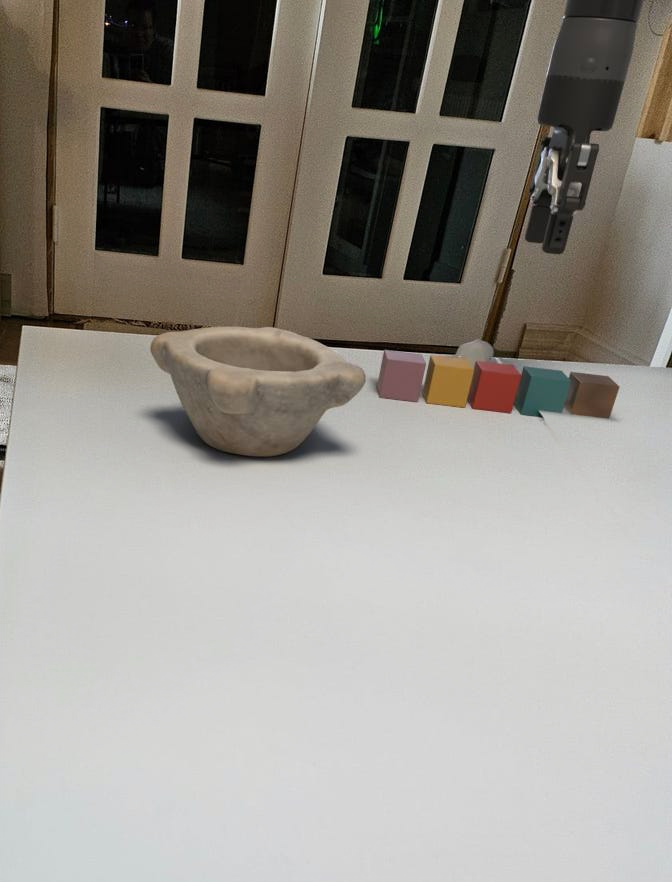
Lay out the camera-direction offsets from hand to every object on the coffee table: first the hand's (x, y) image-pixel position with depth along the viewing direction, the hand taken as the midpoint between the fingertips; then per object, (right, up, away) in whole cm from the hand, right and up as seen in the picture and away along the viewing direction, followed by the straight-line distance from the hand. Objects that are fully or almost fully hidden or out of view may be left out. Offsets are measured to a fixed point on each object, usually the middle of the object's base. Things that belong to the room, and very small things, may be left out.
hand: (542, 247), depth 102 cm
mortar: (-33, -24, -11) cm, 42 cm away
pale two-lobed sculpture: (-1, -7, +23) cm, 24 cm away
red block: (-3, -15, +9) cm, 18 cm away
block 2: (-8, -14, +9) cm, 19 cm away
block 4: (+8, -16, +9) cm, 20 cm away
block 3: (+2, -16, +9) cm, 18 cm away
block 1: (-14, -14, +9) cm, 22 cm away
